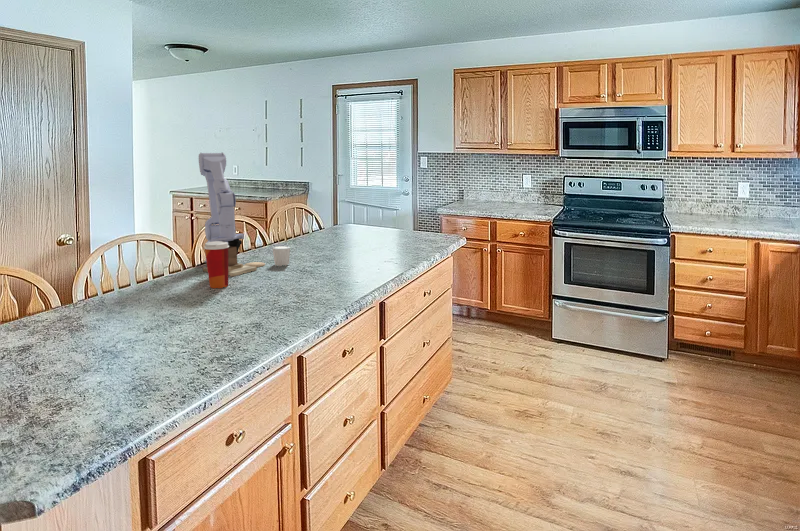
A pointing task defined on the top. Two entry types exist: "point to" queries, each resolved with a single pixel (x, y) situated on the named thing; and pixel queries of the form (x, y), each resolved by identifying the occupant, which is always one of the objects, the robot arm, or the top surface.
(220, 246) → the coffee cup
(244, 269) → the pocket board
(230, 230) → the robot arm
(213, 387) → the top surface
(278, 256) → the white tapered cup
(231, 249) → the walnut post
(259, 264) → the cork pad
